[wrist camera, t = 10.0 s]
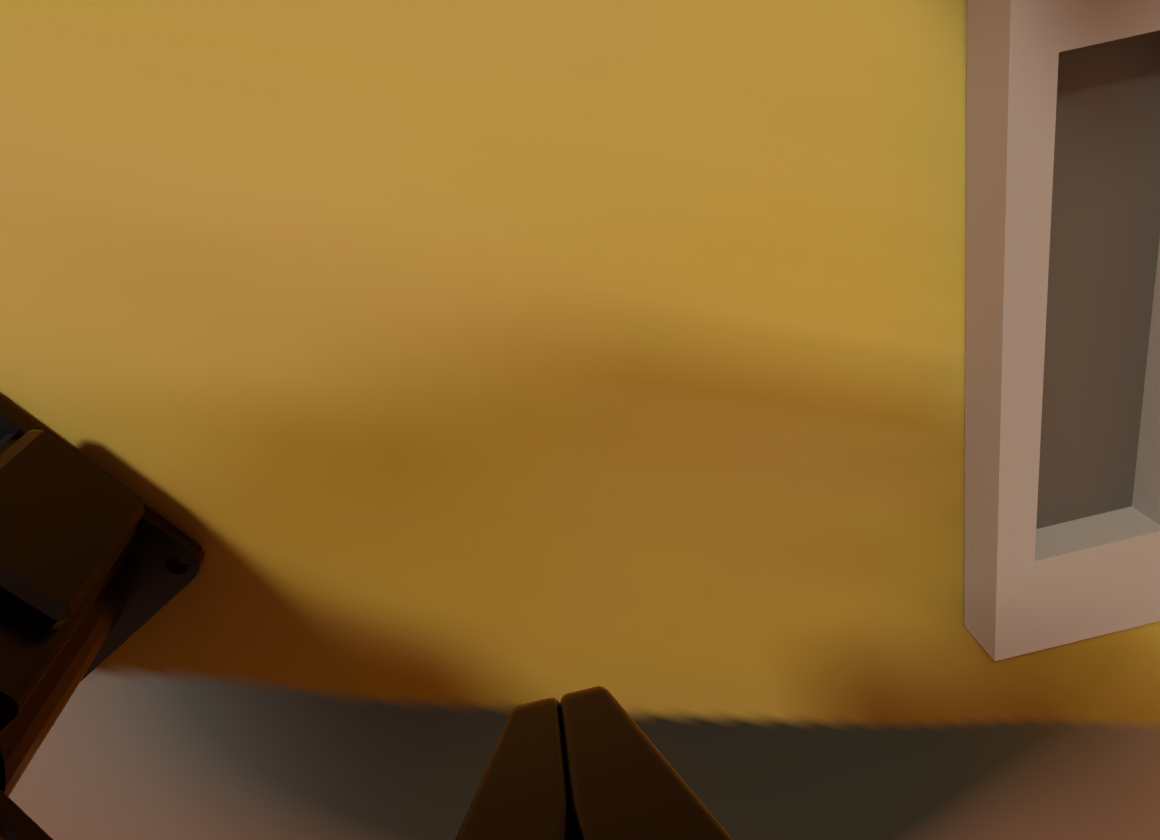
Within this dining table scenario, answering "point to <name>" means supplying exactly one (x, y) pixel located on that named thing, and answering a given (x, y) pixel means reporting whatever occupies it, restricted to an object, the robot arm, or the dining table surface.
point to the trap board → (1061, 321)
